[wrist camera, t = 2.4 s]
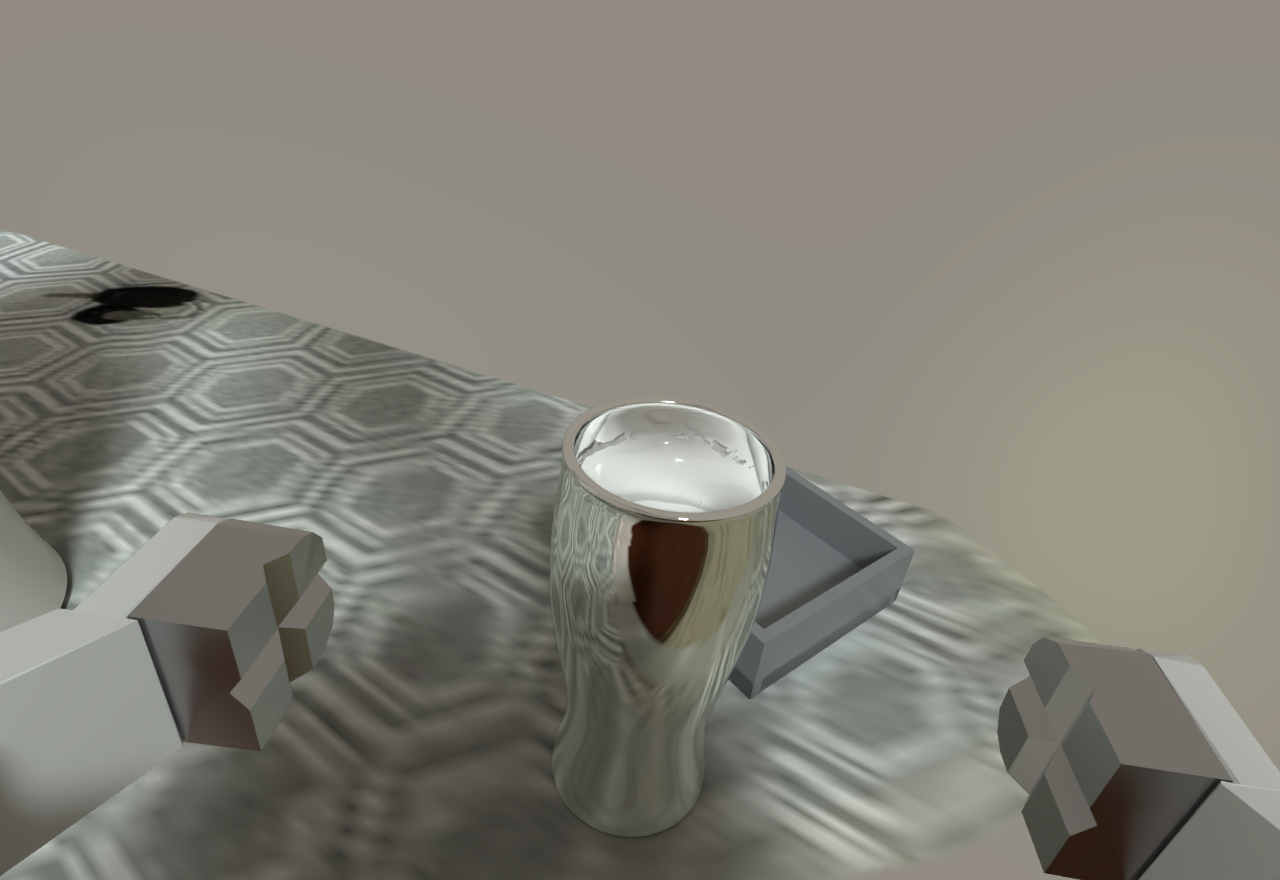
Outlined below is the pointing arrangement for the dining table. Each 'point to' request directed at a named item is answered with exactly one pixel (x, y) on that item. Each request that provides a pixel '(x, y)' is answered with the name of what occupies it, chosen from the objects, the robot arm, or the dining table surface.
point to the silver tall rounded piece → (653, 597)
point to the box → (817, 583)
